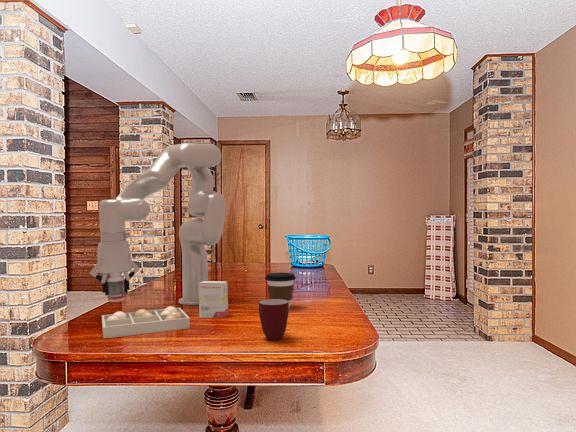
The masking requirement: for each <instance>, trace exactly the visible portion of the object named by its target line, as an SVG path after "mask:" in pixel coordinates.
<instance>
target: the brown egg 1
mask: <svg viewBox="0 0 576 432" xmlns="http://www.w3.org/2000/svg"><path fill="white" fill-rule="evenodd" d="M148 311H149V310H146V309H144V308H141V309H138V310H136V311H135V312H136V313H135V315H134V317H143V316H153V314H152V313H150V312H148Z"/></svg>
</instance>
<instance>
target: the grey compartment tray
mask: <svg viewBox="0 0 576 432" xmlns="http://www.w3.org/2000/svg"><path fill="white" fill-rule="evenodd" d="M175 308H176V309H177V312H179V313H180V314H181V316H182V318H180V319H171V320H164V319H165V318H166V317H167V316H168V314H163V315H160V314H161V312H163V311H164V310H165V308H162V309H151V310H147V311H148V312H150V313H152V314H153V316H143V317H134V315H135V313H136V311H132V312H131V311H130V312H124V313H125V314H126V316H127V318H124V319H114V320H107V319H108V317H110V316H112V315H113V314H114V313H110V314H102V315H101V328H102V329H101V330H102V338H103V339H104V340H105V339H113V338H119V337H127V336H128V337H129V336H138V335H146V334H155V333H162V332H163V333H164V332H171V331H179V330H185V329H186V330H187V329H191V324H190V323H191V322H190V320H191V318H190V317H189V315H188V314H187V313H186V312H185V311H184V310H183V309H182V308H181V307H175Z"/></svg>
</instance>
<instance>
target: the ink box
mask: <svg viewBox="0 0 576 432" xmlns="http://www.w3.org/2000/svg"><path fill="white" fill-rule="evenodd" d="M228 288H229V287H228V281H225V280H224V281H220V280H219V281H217V280H215V281H213V280H211V281H210V280H209V281H203V282H200V283H199V305H198V308H199V309H198V310H199V313H198V314H199V315H198V316H199V318H203V319H204V318H205V319H207V318H208V319H209V318H211V319H213V318H214V319H225V318H226V317H227V316H229V299H228V298H229V297H228V294H229V291H228V290H229V289H228Z"/></svg>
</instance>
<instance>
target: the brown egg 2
mask: <svg viewBox="0 0 576 432" xmlns="http://www.w3.org/2000/svg"><path fill="white" fill-rule="evenodd" d="M180 318H182V316H181V314H180V313H179V312H177V311H172V312H170V313H169V314H168V316H167V317H166V318H165V319H164V320H171V319H180Z"/></svg>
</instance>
